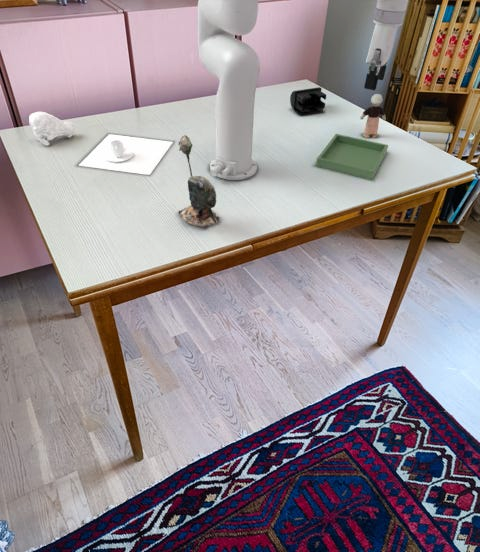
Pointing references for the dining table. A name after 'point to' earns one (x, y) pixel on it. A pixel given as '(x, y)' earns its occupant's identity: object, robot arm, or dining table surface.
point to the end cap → (307, 101)
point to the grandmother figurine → (373, 116)
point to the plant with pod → (198, 195)
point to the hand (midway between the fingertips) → (373, 84)
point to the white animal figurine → (49, 126)
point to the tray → (352, 156)
